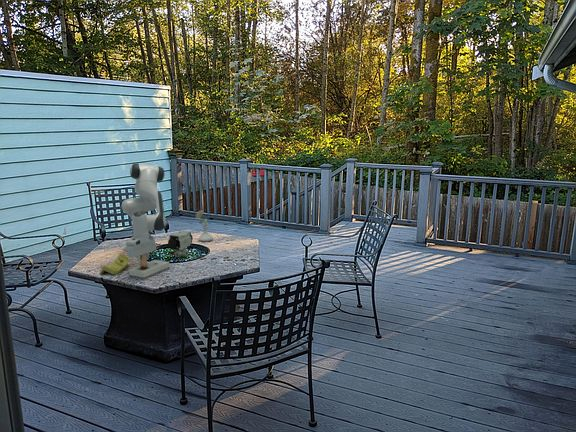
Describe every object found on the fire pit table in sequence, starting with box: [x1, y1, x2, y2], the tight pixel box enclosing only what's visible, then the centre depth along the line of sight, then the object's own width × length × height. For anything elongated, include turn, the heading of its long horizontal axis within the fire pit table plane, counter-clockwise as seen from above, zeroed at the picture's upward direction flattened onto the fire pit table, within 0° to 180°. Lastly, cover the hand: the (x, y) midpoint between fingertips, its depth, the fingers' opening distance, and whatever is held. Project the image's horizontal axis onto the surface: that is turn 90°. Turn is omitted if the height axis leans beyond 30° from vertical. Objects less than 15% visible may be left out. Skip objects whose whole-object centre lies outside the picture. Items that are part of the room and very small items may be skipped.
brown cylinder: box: [139, 253, 148, 270], centre depth 259 cm, size 4×4×10 cm
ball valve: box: [167, 230, 193, 258], centre depth 296 cm, size 18×8×18 cm, turn 154°
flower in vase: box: [195, 209, 214, 242], centre depth 335 cm, size 13×11×25 cm
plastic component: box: [99, 254, 131, 276], centre depth 270 cm, size 20×7×10 cm
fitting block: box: [128, 259, 170, 280], centre depth 265 cm, size 22×12×4 cm, turn 153°
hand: (143, 261), depth 259 cm, fingers closed on brown cylinder, 4 cm apart
